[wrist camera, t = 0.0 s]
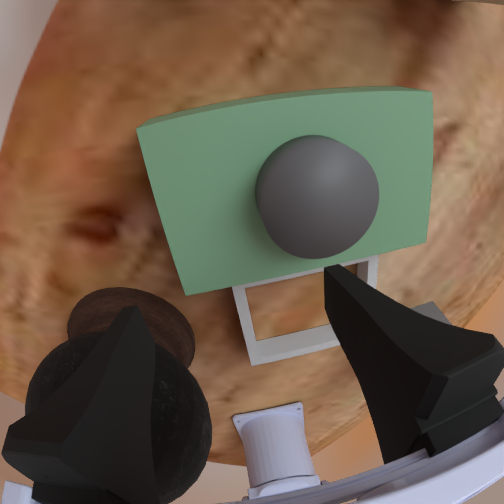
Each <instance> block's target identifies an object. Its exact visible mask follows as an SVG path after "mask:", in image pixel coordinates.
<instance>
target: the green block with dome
mask: <svg viewBox="0 0 504 504" xmlns="http://www.w3.org/2000/svg"><path fill="white" fill-rule="evenodd" d="M136 131H137V135H138V139H139V143H140V146H141V150H142V154H143V158H144V162H145V166H146V169H147V173H148V177H149V180H150V184H151V187H152V191H153V194H154V198H155V201H156V205H157V208H158V212H159V215H160V218H161V222H162V225H163V228H164V231H165V235H166V238H167V241H168V244H169V247H170V250H171V253H172V257H173V260H174V263H175V266H176V269H177V272H178V275H179V278H180V281H181V284H182V286H183V289H184V292H185V295H186V296H188V295H193V294H198V293H203V292H208V291H213V290H218V289H223V288H228V287H232V290H233V294H234V298H235V302H236V306H237V310H238V314H239V318H240V322H241V326H242V330H243V334H244V338H245V342H246V346H247V350H248V354H249V358H250V362H251V365H252V366H254V365H259V364H264V363H268V362H273V361H278V360H282V359H286V358H291V357H295V356H299V355H303V354H307V353H311V352H315V351H319V350H323V349H327V348H331V347H334V346H338V345H340V343H339V341H338V339H337V337H336V335H335V333H334V331H333V329H332V326H331V324H328V325H324V326H320V327H316V328H312V329H308V330H304V331H299V332H295V333H291V334H287V335H282V336H278V337H273V338H269V339H264V340H259V341H256V338H255V334H254V329H253V325H252V320H251V315H250V311H249V306H248V302H247V297H246V292H245V288H248V287H253V286H257V285H262V284H267V283H271V282H276V281H281V280H285V279H290V278H294V277H299V276H303V275H308V274H312V273H317V272H321V271H324V267H327V266H331V265H336V264H340V265H341V266H347V265H351V264H356V263H357V277H358V278H360V279H361V280H363V281H364V282H366V283H367V284H369V285H370V286H372V287H373V288H375V289H376V282H377V270H378V256H379V254H382V253H386V252H390V251H394V250H398V249H402V248H406V247H410V246H414V245H418V244H422V243H426V238H427V229H428V221H429V211H430V199H431V186H432V167H433V98H432V92H431V91H426V90H420V89H413V88H406V87H399V86H368V87H344V88H329V89H316V90H306V91H296V92H287V93H279V94H271V95H264V96H257V97H251V98H245V99H239V100H233V101H227V102H222V103H217V104H212V105H207V106H202V107H197V108H193V109H188V110H184V111H179V112H175V113H171V114H167V115H163V116H159V117H155V118H152V119H149V120H147V121H146V122H145V123H143V124H142V125H140V126H139V127H138V128H136Z"/></svg>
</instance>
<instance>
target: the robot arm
mask: <svg viewBox="0 0 504 504" xmlns="http://www.w3.org/2000/svg"><path fill="white" fill-rule="evenodd" d="M324 296H325V310H326V313H327V316H328V318H329V321H330V324H331V326H332V329H333V331H334V333H335V335H336V337H337V339H338V341H339V343H340V345H341V347H342V349H343V351H344V352H345V354H346V356H347V358H348V360H349V362H350V364H351V366H352V368H353V370H354V372H355V374H356V376H357V378H358V381H359V383H360V386H361V389H362V391H363V394H364V397H365V400H366V403H367V406H368V409H369V412H370V415H371V418H372V421H373V424H374V427H375V431H376V434H377V438H378V441H379V445H380V449H381V453H382V457H383V461H384V465H382V466H380V467H377V468H375V469H372V470H369V471H366V472H363V473H360V474H357V475H354V476H351V477H347V478H344V479H341V480H338V481H334V482H331V483H329V482H327V481H326V480H323V481H321V482H320V480H319V476H318V475H316V474H315V470H314V467H313V463H312V460H311V456H310V452H309V449H308V445H307V442H306V438H305V432H304V416H303V405H302V403H301V402H297V403H293V404H289V405H284V406H280V407H275V408H271V409H266V410H261V411H256V412H250V413H245V414H239V415H234V416H233V417H232V419H233V422H234V424H235V426H236V429H237V431H238V433H239V435H240V437H241V440H242V442H243V445H244V451H245V458H246V464H247V470H248V477H249V482H250V489H248V495H249V496H245V497H243V499H242V500H241V501H236V502H229V503H219V504H340V503H343V502H347V501H350V500H353V499H356V498H357V501H356V502H352V503H348V504H462V503H463V502H465V501H467V500H468V499H470V498H472V497H473V496H475V495H476V494H478V493H480V492H481V491H483V490H484V489H486V488H487V487H489V486H490V485H491V484H493V483H495V482H496V481H497V480H499V479H500V478H501V477H503V476H504V397H503V398H502V399H501V400H500V401H499V402H498V400H497V398H496V397H495V395H496V394H497V393H498V392H497V389H496V388H495V386H494V385H493V384H494V383H495V381H496V379H497V378H498V376H499V375H500V373H501V371H502V369H503V368H504V348H503V346H502V345H501V344H500V343H499V341H498V340H497V339H496V338H495V337H494V335H493V334H488V333H483V332H478V331H473V330H468V329H464V328H460V327H457V326H453V325H450V324H447V323H443V322H441V321H438V320H435V319H433V318H430V317H427V316H425V315H423V314H420V313H418V312H416V311H414V310H412V309H410V308H408V307H405V306H404V305H402V304H400V303H398V302H396V301H394V300H393V299H391V298H389V297H387V296H386V295H384V294H382V293H381V292H379V291H378V290H376V289H375V288H373V287H372V286H370V285H369V284H367V283H366V282H364V281H363V280H361V279H360V278H358V277H357V276H356V275H354V274H353V273H351V272H350V271H348V270H347V269H346V268H344V267H343V266H341V265H340V264H336V265H331V266H327V267H324ZM154 373H155V341H154V339H153V337H152V335H151V333H150V331H149V329H148V327H147V324H146V322H145V320H144V318H143V316H142V314H141V312H140V310H139V307H138V305H134V306H128V307H123V308H122V310H121V311H120V312H119V314H118V315H117V316H116V318H115V319H114V321H113V322H112V323H111V325H110V326H109V328H108V329H107V330H106V332H105V333H104V335H103V336H102V337H101V339H100V340H99V342H98V343H97V344H96V346H95V347H94V348H93V350H92V351H91V352H90V353H89V355H88V356H87V357H86V359H85V360H84V361H83V363H82V364H81V365H80V366H79V367H78V368H77V370H76V371H75V372H74V373H73V374H72V375H71V376H70V377H69V378H68V380H67V381H66V382H65V383H64V384H63V385H61V386H60V387H59V388H58V389H57V390H56V391H55V392H54V393H53V394H52V395H51V396H50V397H49V398H48V399H46V400H45V401H44V402H43V403H42V404H40V405H39V406H38V407H36V408H35V409H34V410H33V411H31V412H30V413H28V414H27V415H25V416H24V417H23V418H21V419H20V420H18V421H16V422H15V423H13V424H12V425H10V426H9V428H8V432H7V435H6V438H5V442H4V446H3V450H2V456H3V458H4V459H5V461H6V462H7V463H8V464H10V465H11V466H12V467H13V468H15V469H16V470H18V471H19V472H21V473H22V474H23V475H25V476H26V477H28V478H29V479H31V480H32V481H34V484H33V488H32V487H29V486H27V485H24V484H20V483H16V482H12V481H8V480H6V481H5V486H4V491H3V497H2V503H1V504H160V501H159V496H158V491H157V485H156V479H155V472H154V465H153V456H152V445H151V426H150V416H151V403H152V393H153V383H154Z"/></svg>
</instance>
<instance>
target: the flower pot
mask: <svg viewBox="0 0 504 504" xmlns="http://www.w3.org/2000/svg"><path fill="white" fill-rule="evenodd" d="M452 1H469V2H482V3H491V4H499V5H504V0H452Z"/></svg>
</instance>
